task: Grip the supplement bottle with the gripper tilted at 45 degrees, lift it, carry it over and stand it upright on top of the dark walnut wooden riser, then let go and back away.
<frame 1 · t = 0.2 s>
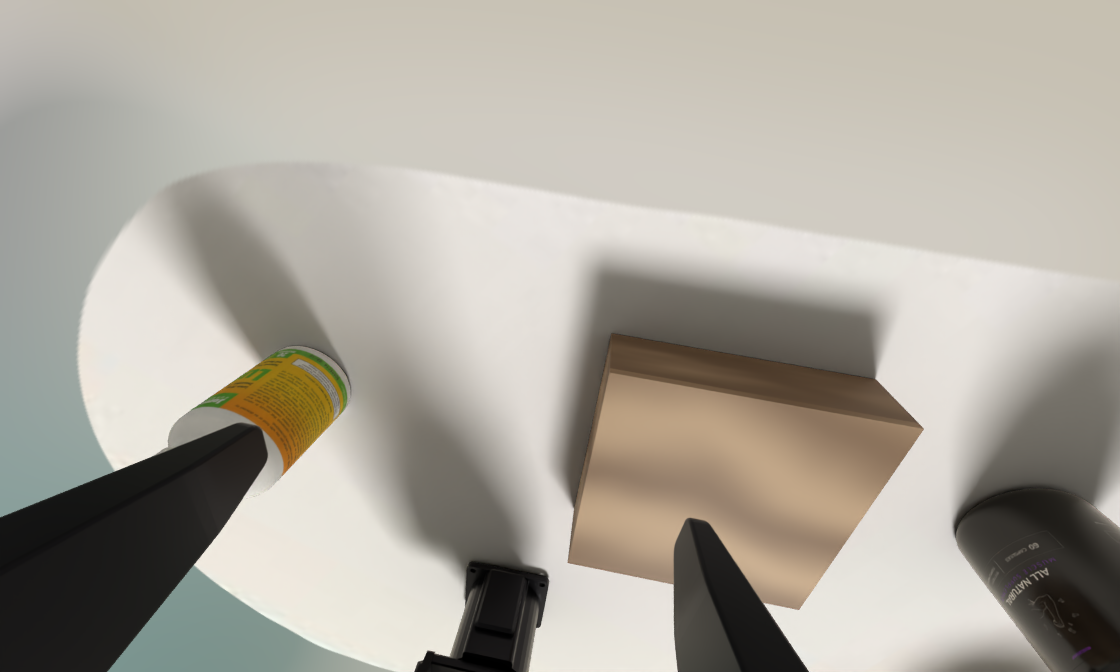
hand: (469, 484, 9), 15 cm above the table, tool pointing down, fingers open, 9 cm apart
supplement bottle: (1013, 522, 26), on the table
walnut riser: (703, 453, 26), on the table
supplement bottle 2: (314, 378, 27), on the table
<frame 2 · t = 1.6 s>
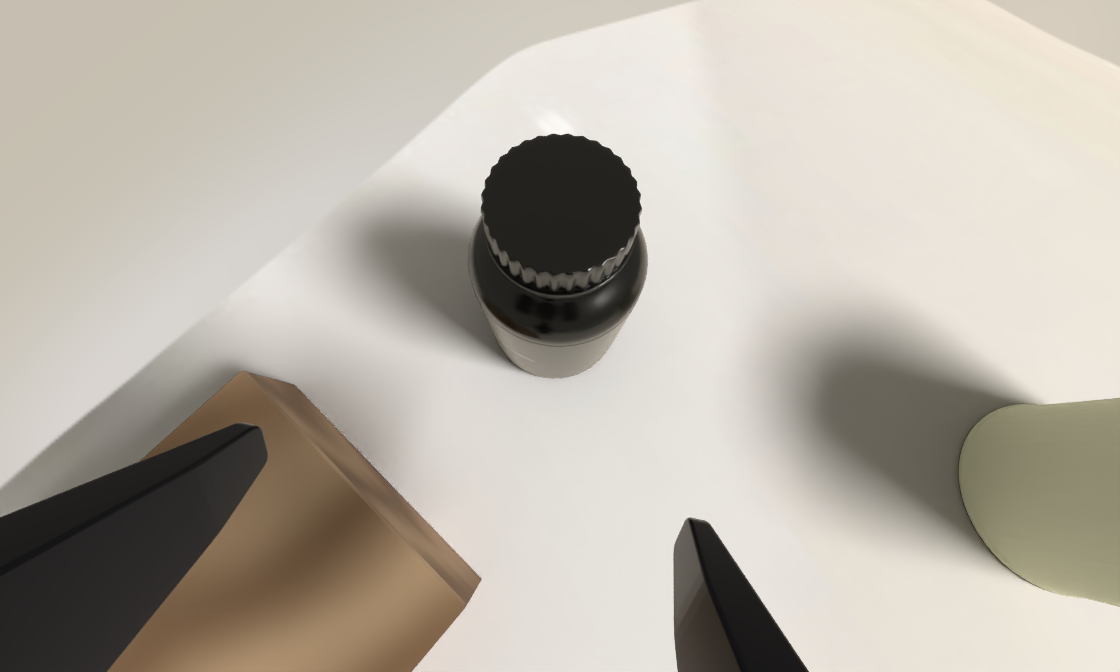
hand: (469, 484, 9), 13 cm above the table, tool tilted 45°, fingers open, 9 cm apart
supplement bottle: (555, 322, 24), on the table
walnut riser: (271, 593, 20), on the table
can: (1043, 494, 22), on the table
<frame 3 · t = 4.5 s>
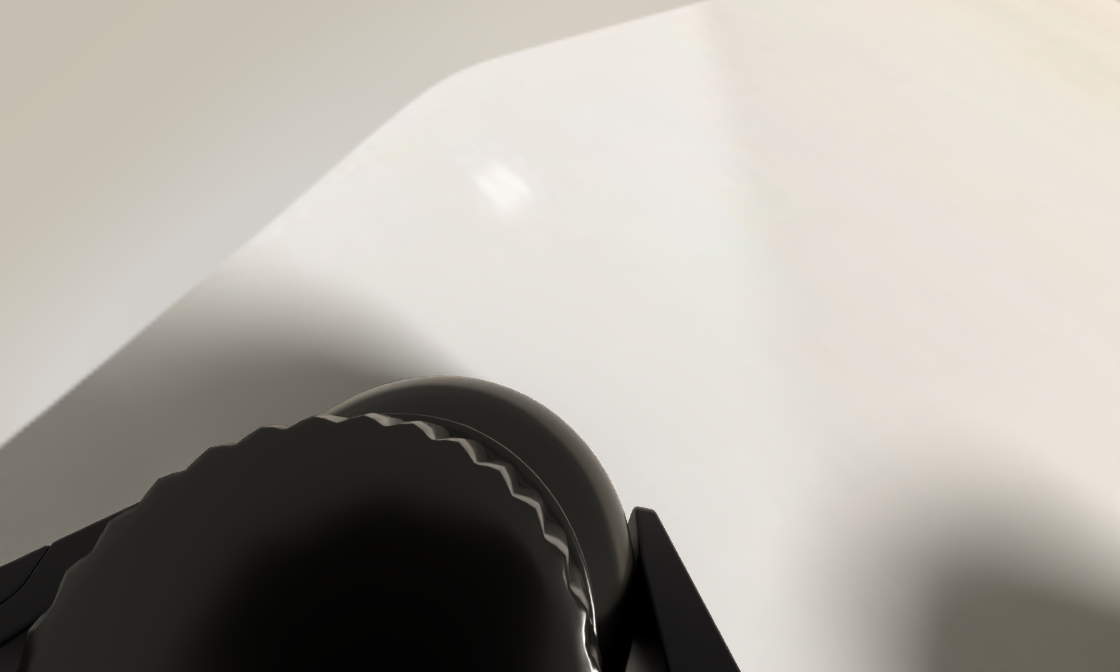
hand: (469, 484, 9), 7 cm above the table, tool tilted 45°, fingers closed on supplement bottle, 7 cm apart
supplement bottle: (494, 513, 15), on the table, touching gripper
when the fingers open (12 cm above the table, at t = 8.2 s): supplement bottle drops 1 cm, resting on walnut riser.
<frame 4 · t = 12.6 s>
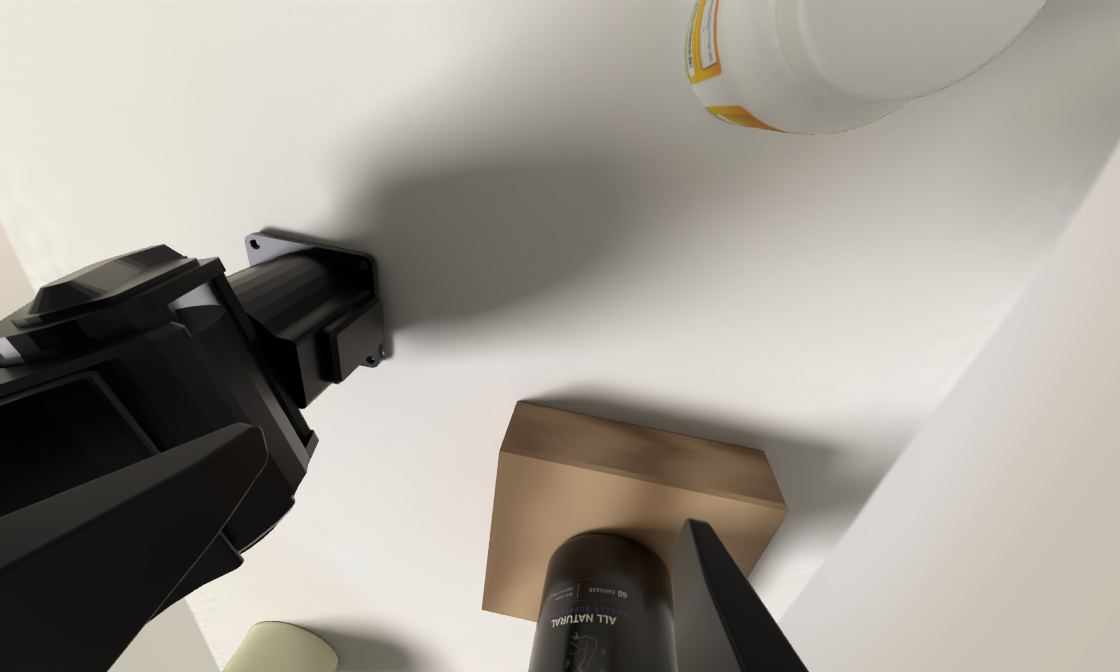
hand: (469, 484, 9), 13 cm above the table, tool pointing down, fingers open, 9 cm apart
supplement bottle: (607, 565, 24), point 4 cm above the table, touching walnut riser
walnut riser: (612, 509, 27), on the table
can: (295, 645, 42), on the table
supplement bottle 2: (759, 42, 15), on the table
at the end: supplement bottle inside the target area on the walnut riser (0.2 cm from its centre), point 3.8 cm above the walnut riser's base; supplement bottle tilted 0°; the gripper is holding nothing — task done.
